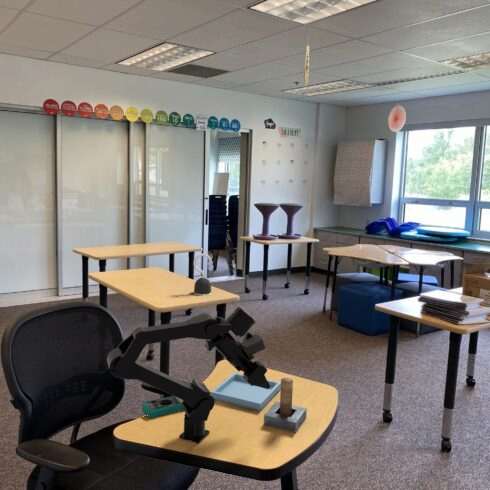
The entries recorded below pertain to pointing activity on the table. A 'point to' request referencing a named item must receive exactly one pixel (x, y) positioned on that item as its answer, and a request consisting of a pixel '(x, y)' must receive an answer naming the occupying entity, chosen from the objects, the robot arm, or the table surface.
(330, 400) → the table surface
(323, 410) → the table surface
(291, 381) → the walnut dowel
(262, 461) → the table surface
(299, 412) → the grey socket block
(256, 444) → the table surface
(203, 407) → the robot arm
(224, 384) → the slate-blue tray
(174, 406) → the digital multimeter
